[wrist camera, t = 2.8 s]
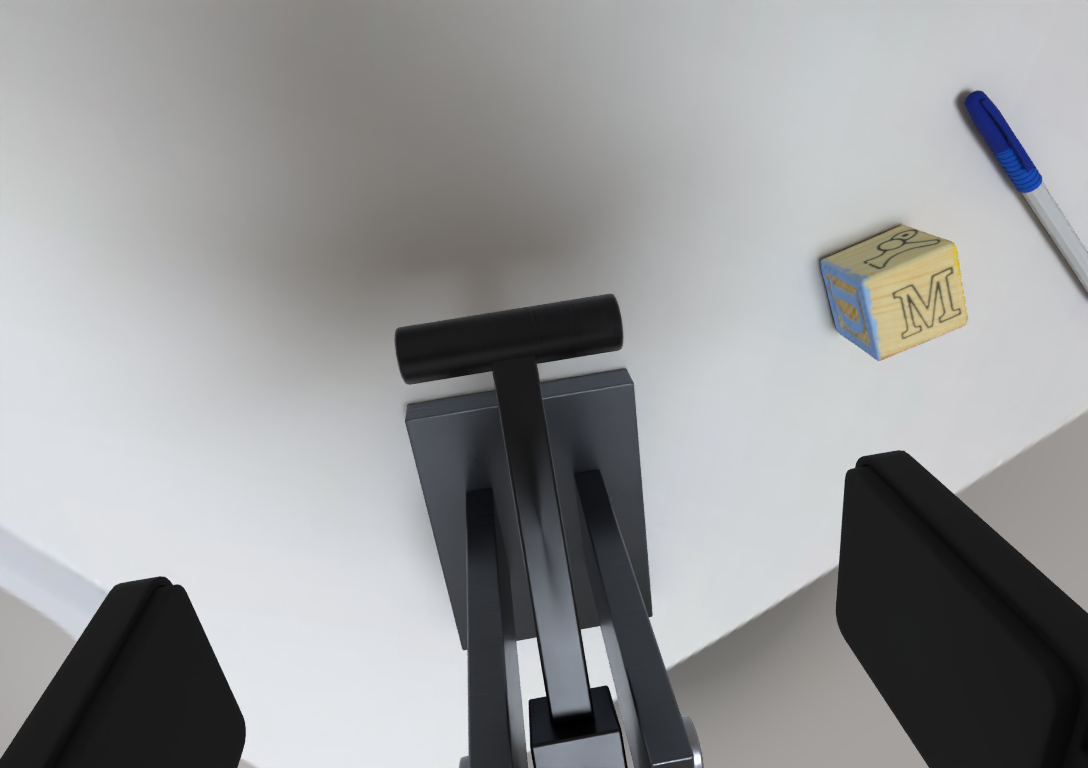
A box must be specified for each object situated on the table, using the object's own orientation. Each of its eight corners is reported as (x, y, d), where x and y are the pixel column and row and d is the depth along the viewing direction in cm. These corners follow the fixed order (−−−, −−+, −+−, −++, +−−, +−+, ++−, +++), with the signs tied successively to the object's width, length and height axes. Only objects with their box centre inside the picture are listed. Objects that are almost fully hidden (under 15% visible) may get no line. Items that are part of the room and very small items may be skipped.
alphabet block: (817, 256, 24) (862, 283, 22) (903, 220, 24) (960, 242, 21) (834, 331, 26) (878, 365, 23) (916, 297, 25) (971, 328, 23)
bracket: (406, 404, 25) (362, 707, 14) (626, 368, 25) (763, 634, 14) (462, 629, 30) (464, 991, 19) (646, 596, 30) (759, 933, 19)
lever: (403, 330, 19) (387, 324, 16) (606, 298, 19) (620, 287, 16) (484, 810, 19) (480, 874, 17) (683, 772, 19) (707, 830, 17)
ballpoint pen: (949, 107, 22) (970, 110, 22) (972, 85, 22) (994, 87, 21) (1095, 309, 26) (1118, 319, 25) (1116, 292, 26) (1140, 301, 25)
